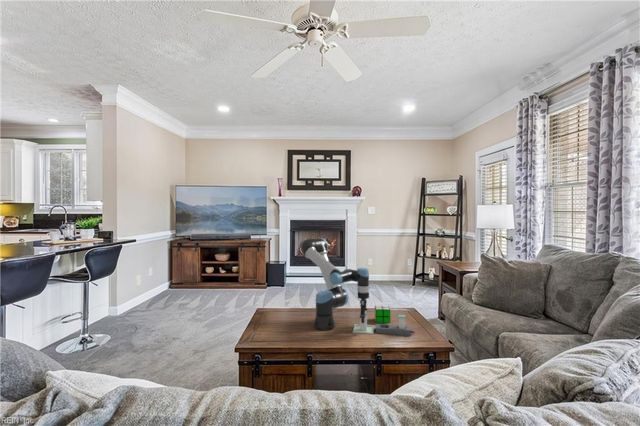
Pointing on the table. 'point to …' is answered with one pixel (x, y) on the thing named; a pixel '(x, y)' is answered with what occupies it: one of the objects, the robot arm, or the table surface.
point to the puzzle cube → (382, 314)
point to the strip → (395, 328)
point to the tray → (369, 331)
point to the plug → (365, 322)
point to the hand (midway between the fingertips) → (363, 323)
